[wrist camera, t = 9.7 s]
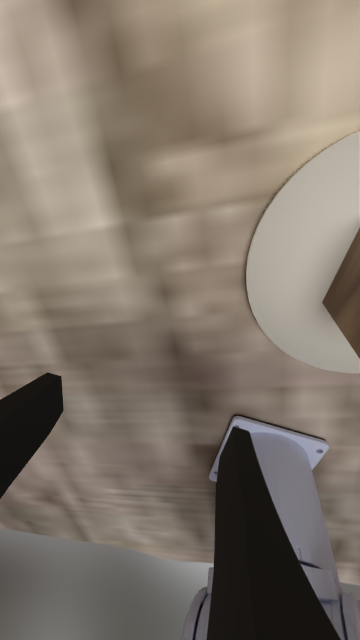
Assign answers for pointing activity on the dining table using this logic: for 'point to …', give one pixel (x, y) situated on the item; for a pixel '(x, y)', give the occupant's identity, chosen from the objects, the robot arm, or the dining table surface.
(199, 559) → the dining table surface
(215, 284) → the dining table surface
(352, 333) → the walnut block
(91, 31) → the dining table surface
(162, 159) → the dining table surface
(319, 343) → the cream plate
